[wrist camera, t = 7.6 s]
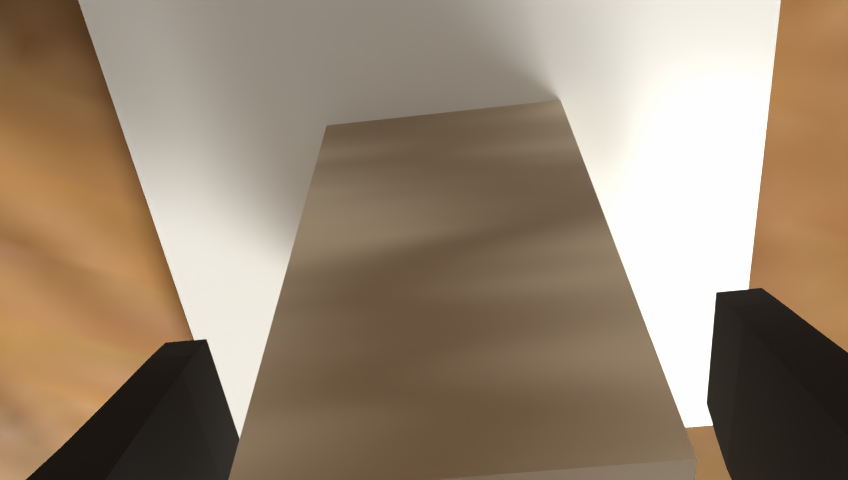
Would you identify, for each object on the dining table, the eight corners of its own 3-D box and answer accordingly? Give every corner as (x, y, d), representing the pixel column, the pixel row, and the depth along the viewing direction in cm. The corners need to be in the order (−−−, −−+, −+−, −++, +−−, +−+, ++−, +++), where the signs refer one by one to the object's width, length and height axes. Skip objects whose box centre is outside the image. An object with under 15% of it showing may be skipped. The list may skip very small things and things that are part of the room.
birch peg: (560, 99, 13) (696, 458, 7) (566, 293, 15) (674, 719, 9) (326, 125, 14) (223, 496, 7) (363, 312, 16) (313, 739, 9)
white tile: (775, -136, 12) (795, -129, 12) (721, 398, 18) (733, 423, 17) (84, -49, 13) (64, -38, 12) (243, 437, 19) (236, 463, 18)
